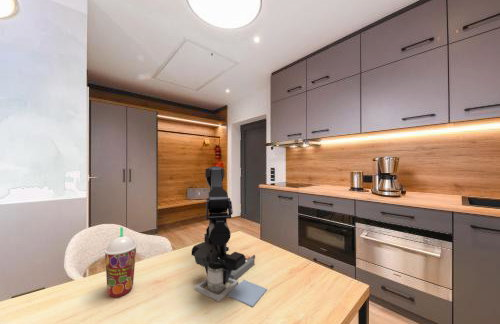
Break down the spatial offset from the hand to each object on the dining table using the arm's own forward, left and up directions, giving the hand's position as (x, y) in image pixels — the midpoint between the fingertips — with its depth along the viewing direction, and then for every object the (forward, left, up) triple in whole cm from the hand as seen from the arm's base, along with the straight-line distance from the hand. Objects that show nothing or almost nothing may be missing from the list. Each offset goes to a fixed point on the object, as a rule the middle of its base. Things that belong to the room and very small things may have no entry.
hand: (217, 280), depth 64 cm
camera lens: (0, 0, -2) cm, 2 cm away
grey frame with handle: (0, +9, -2) cm, 10 cm away
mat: (+10, +3, -2) cm, 11 cm away
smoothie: (-24, -18, -2) cm, 30 cm away
